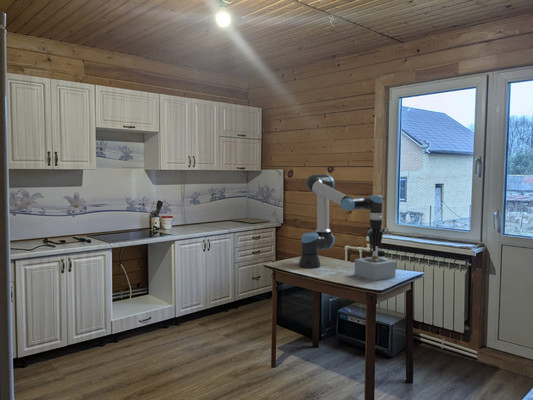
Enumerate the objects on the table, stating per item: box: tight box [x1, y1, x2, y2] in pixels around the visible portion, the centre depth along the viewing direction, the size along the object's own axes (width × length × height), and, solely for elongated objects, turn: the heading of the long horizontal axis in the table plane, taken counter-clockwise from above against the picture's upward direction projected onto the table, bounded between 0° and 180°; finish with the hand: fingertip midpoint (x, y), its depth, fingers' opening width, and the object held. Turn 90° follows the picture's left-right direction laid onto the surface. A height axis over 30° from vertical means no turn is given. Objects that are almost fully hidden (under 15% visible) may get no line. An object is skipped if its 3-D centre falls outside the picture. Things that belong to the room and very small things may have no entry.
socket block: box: [354, 256, 397, 282], centre depth 271 cm, size 18×18×10 cm
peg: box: [371, 255, 378, 261], centre depth 270 cm, size 4×4×9 cm
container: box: [378, 249, 389, 260], centre depth 289 cm, size 8×8×13 cm
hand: (375, 255), depth 270 cm, fingers closed
